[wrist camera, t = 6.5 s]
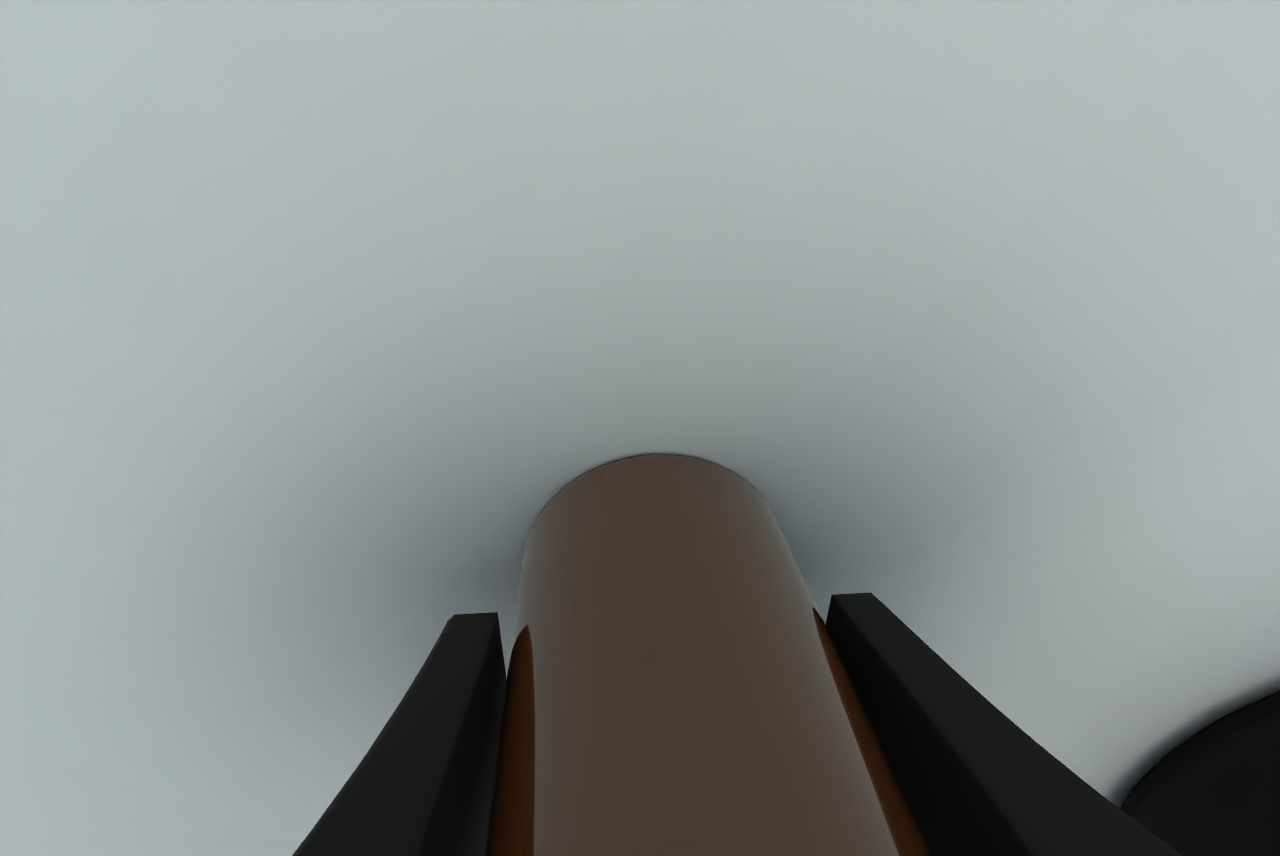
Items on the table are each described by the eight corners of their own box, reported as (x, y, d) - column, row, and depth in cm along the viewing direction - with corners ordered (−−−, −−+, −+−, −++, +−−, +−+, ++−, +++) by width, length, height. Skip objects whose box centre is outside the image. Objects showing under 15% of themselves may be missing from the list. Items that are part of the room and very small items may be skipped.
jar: (815, 595, 12) (1178, 1364, 5) (603, 686, 12) (631, 1479, 5) (718, 405, 10) (1101, 1275, 3) (469, 527, 10) (218, 1481, 3)
